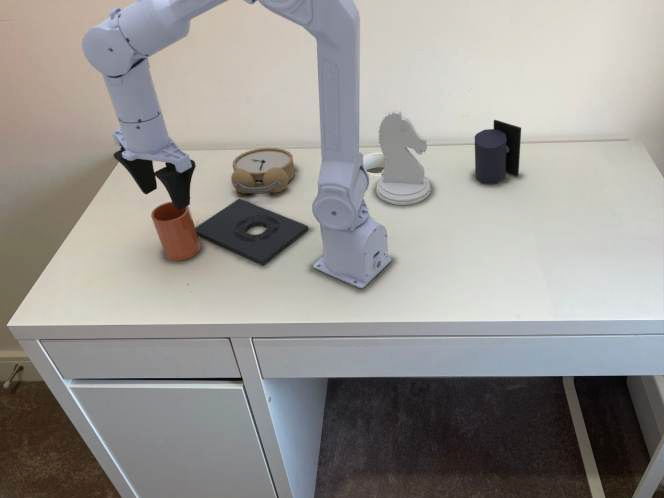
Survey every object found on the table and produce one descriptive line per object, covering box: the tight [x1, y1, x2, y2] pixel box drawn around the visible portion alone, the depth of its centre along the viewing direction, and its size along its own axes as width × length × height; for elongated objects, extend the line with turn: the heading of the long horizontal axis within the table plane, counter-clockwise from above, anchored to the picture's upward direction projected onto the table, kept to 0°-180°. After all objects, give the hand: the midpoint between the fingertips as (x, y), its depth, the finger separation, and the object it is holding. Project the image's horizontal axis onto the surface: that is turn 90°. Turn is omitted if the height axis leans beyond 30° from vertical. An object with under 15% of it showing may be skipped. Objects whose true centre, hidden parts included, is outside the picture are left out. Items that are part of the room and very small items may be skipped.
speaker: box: [474, 119, 522, 185], centre depth 103 cm, size 8×6×10 cm
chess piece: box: [375, 109, 432, 206], centre depth 99 cm, size 10×10×15 cm
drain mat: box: [195, 198, 309, 266], centre depth 96 cm, size 16×11×1 cm
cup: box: [150, 201, 202, 262], centre depth 91 cm, size 6×6×8 cm
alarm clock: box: [230, 147, 296, 195], centre depth 107 cm, size 11×5×15 cm
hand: (166, 198), depth 87 cm, fingers open, 7 cm apart
